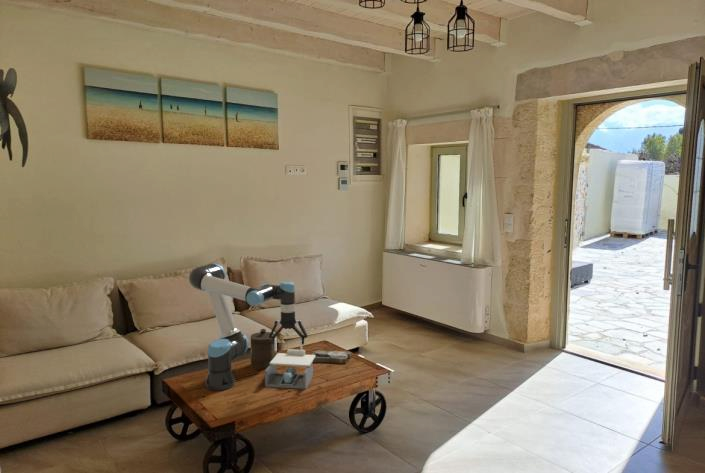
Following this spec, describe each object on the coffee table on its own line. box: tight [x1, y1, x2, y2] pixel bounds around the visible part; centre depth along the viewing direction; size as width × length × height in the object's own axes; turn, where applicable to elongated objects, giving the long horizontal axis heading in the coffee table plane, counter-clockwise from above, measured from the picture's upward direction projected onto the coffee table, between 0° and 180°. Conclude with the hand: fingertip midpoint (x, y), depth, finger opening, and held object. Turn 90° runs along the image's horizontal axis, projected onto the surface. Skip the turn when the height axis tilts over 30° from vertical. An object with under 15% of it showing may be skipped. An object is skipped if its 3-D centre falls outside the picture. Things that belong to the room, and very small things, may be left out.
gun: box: [310, 349, 352, 364], centre depth 292 cm, size 4×24×15 cm
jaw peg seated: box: [285, 366, 297, 379], centre depth 260 cm, size 5×5×6 cm
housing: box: [264, 362, 314, 390], centre depth 256 cm, size 22×16×10 cm
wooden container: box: [250, 328, 277, 371], centre depth 281 cm, size 15×15×22 cm
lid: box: [270, 348, 316, 368], centre depth 263 cm, size 22×15×3 cm
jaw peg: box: [283, 371, 293, 384], centre depth 252 cm, size 5×5×6 cm
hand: (288, 350), depth 253 cm, fingers open, 13 cm apart
